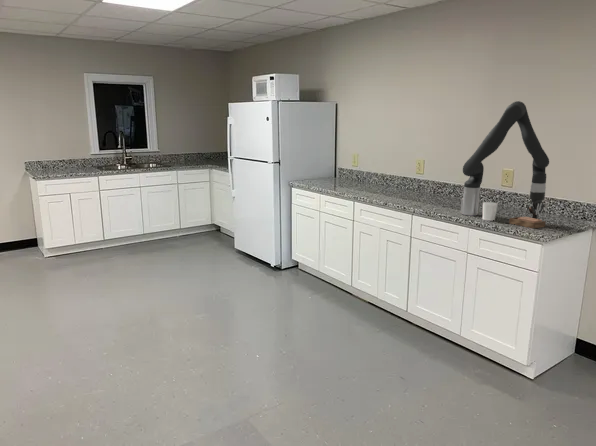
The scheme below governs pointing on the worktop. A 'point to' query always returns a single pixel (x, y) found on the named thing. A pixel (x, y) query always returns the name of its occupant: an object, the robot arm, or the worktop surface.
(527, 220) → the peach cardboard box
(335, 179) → the worktop surface
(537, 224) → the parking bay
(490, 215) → the white cup
